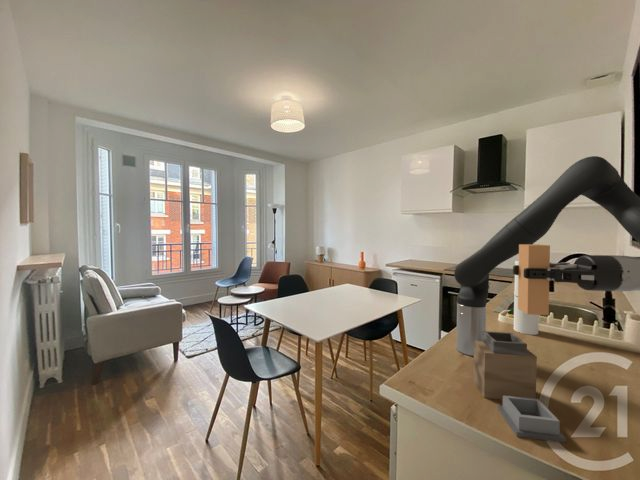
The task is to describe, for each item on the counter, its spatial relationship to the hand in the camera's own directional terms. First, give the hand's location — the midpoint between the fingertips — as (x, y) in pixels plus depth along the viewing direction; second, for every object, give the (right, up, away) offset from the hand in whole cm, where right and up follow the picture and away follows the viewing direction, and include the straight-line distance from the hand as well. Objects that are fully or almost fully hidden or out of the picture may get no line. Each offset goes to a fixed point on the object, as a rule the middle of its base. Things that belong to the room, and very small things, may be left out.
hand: (519, 271), depth 61 cm
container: (+44, -32, +57) cm, 79 cm away
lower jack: (+3, -35, +1) cm, 35 cm away
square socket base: (+5, -34, +14) cm, 37 cm away
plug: (+3, -9, 0) cm, 9 cm away
